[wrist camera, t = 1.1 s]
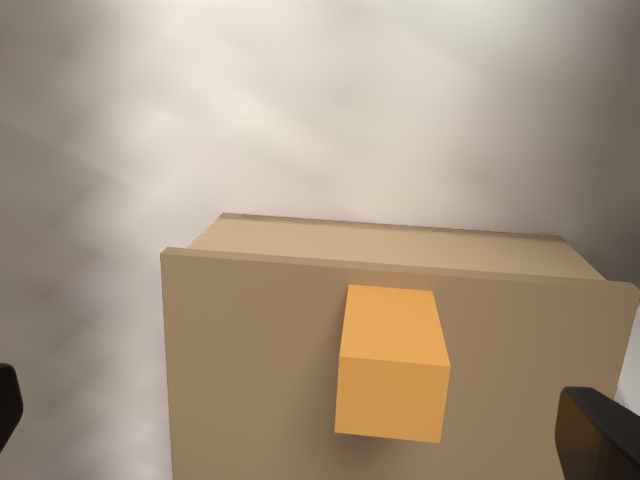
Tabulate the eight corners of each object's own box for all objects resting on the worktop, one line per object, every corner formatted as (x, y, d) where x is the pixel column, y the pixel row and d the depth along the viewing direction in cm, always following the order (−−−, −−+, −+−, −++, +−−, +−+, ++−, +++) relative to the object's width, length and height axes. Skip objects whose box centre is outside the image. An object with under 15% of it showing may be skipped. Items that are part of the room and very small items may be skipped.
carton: (560, 236, 20) (616, 289, 15) (497, 557, 25) (525, 671, 20) (222, 212, 21) (178, 255, 16) (228, 525, 26) (195, 626, 22)
